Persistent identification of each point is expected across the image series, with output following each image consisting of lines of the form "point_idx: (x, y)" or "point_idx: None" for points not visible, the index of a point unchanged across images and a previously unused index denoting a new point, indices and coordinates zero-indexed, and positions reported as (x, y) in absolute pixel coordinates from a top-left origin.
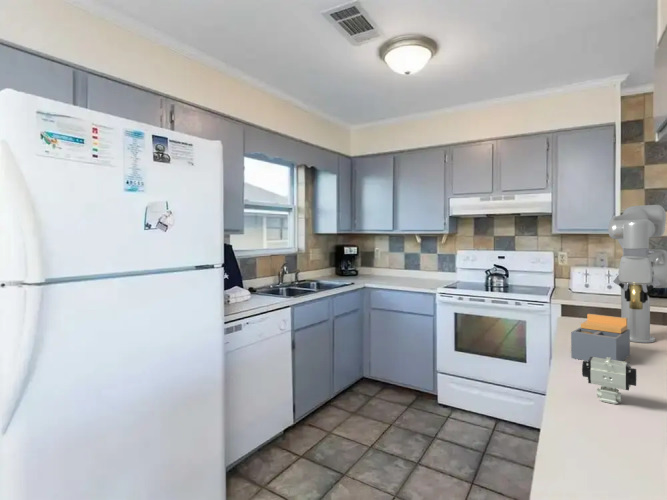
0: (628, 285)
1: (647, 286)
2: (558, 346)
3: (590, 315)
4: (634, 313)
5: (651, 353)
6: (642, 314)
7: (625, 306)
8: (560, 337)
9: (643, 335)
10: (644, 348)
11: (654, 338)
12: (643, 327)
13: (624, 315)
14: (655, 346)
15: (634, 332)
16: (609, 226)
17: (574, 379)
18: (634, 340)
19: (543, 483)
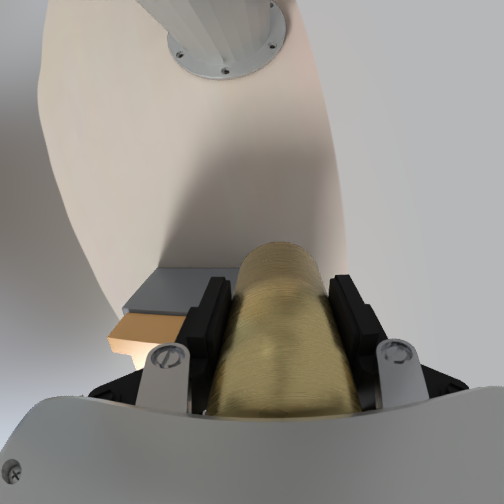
0: (179, 405)
1: (414, 399)
2: (110, 302)
3: (125, 352)
4: (210, 19)
5: (315, 198)
6: (247, 5)
7: (152, 6)
8: (65, 200)
9: (257, 45)
10: (284, 143)
11: (283, 18)
12: (255, 32)
13: (167, 26)
14: (304, 88)
15: (227, 55)
16: None
17: None
18: (235, 77)
19: None
